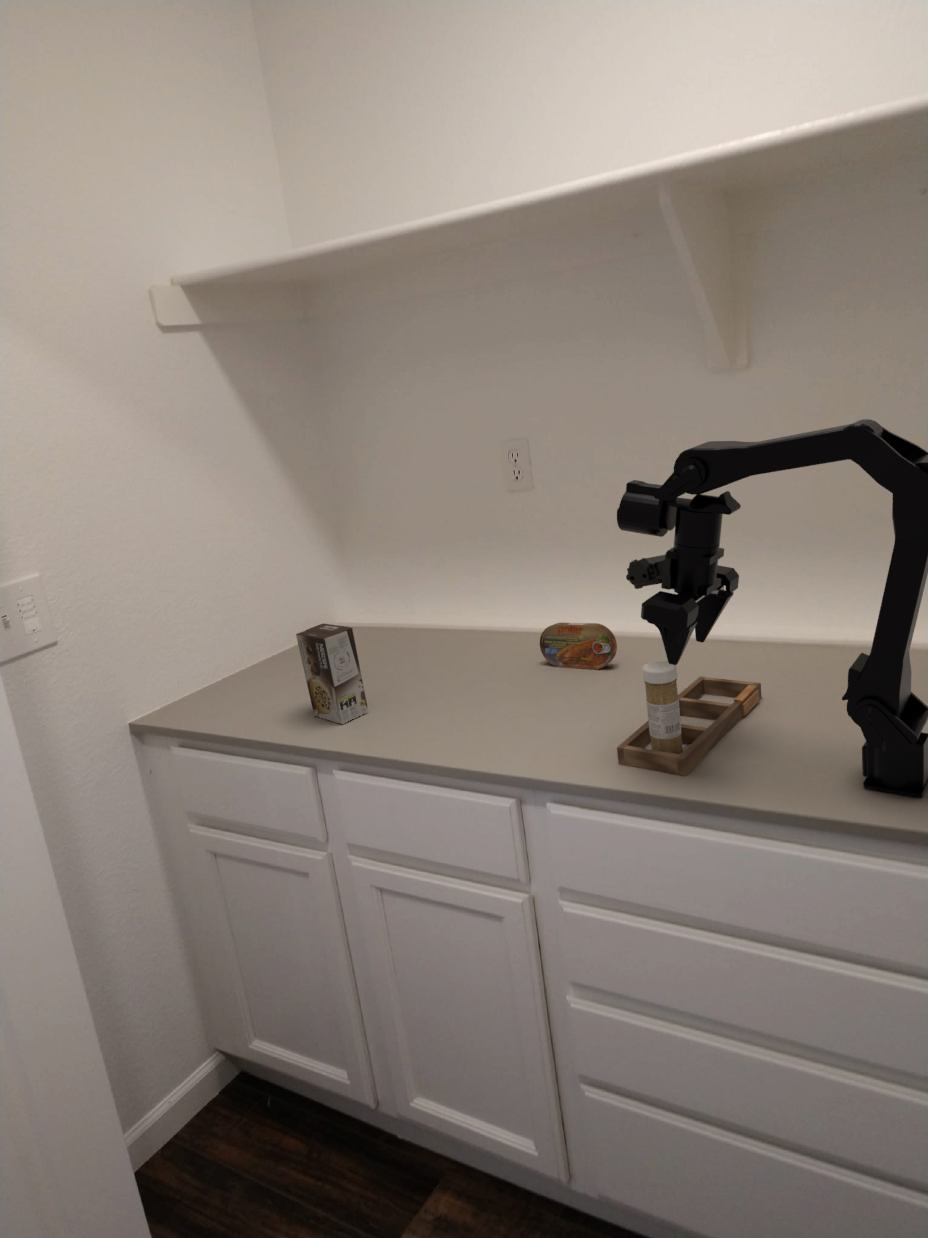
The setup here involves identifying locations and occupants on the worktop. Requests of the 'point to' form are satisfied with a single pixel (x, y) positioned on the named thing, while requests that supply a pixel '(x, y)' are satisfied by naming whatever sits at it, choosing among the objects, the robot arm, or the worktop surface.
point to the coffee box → (332, 672)
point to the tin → (578, 645)
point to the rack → (697, 736)
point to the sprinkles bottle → (663, 706)
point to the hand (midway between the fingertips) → (686, 652)
